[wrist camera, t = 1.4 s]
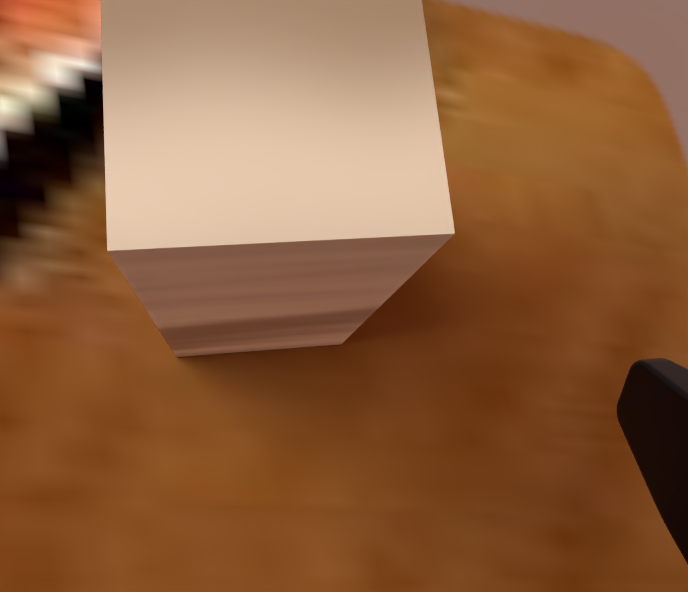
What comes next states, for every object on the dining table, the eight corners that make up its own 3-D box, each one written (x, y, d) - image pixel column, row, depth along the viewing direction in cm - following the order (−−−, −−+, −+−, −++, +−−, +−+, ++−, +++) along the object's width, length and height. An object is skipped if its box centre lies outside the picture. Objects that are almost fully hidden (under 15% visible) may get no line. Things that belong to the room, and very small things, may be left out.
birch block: (341, 344, 20) (454, 233, 10) (176, 357, 20) (107, 250, 9) (325, 193, 22) (413, -54, 11) (168, 199, 21) (98, -63, 10)
